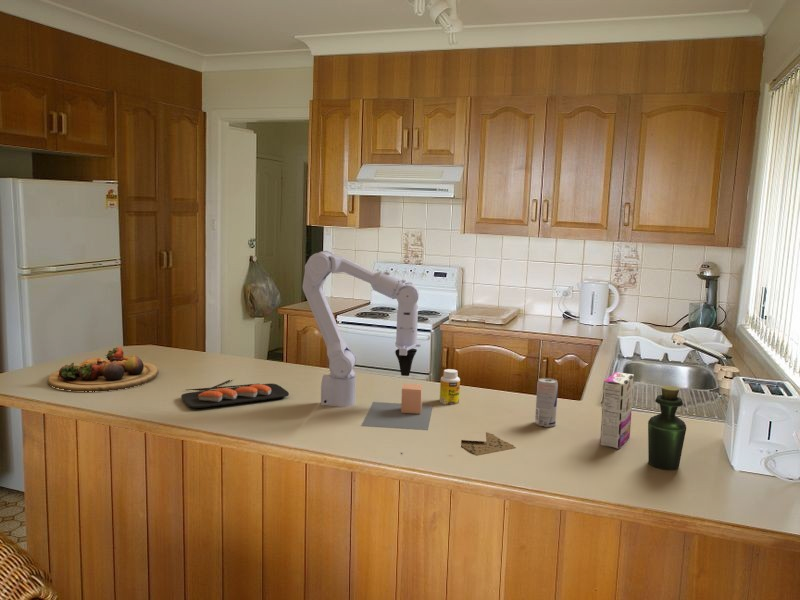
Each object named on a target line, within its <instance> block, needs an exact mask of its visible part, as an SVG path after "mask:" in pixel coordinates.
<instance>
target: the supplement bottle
mask: <svg viewBox="0 0 800 600" xmlns="http://www.w3.org/2000/svg"><path fill="white" fill-rule="evenodd" d="M460 386H461V378H460V377H459V376H458V370H456V369H451V368H447V369H446V368H445V369H444V370H443V375H442V376H441V377H440V386H439V388H440V389H439V390H440V391H439V403H440V404H442V405H446V406H447V405H449V406H452V405H453V406H454V405H455V406H456V405H457V404H459V403H460V388H461V387H460Z"/></svg>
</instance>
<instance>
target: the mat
mask: <svg viewBox="0 0 800 600" xmlns="http://www.w3.org/2000/svg"><path fill="white" fill-rule="evenodd" d="M433 407H434V405H432V404H431V405H430V404H422V409H421V413H420V414H407V413H401V403H400V402H399V403H397V402H379V401H372V403H371V406H370V407H369V409H368V412H367V414H366V415H365V418H364V420H363V422H362V423H361V425H360V426H361V427H367V428H368V427H371V428H386V429H403V430H419V431H429V427H430V426H429V425H430V421H431V416H432V412H433Z"/></svg>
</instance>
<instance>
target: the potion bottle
mask: <svg viewBox="0 0 800 600" xmlns="http://www.w3.org/2000/svg"><path fill="white" fill-rule="evenodd" d="M660 388H661V394H659V395H657V396H656V398H655V400H654V401H655V403H656V404H659V407H660V413H658V414H656V415H653V416H651V417H650V418H649V419H648V422H647V428H648V429H647V432H648V433H647V434H648V435H647V446H648V450H647V451H648V452H647V454H648V455H647V456H648V463H649V465H651V466H652V467H654V468H656V469H659V470H666V471H672V470H676V469H678V468H680V462H681V458H682V453H683V448H684V442H685V436H686V432H687V425H686V422H685V421H684V420H682V418H680V417H678V416H677V415H676V413H677V410H678V407H682V406H684V402H683V399H682V398H681V397H679V396H678V395H679V392H680V387H677V386H674V385H661V387H660Z"/></svg>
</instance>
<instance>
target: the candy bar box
mask: <svg viewBox="0 0 800 600" xmlns="http://www.w3.org/2000/svg"><path fill="white" fill-rule="evenodd" d="M634 376H635V374H632V373H627V372H620V371H615V372H614V373H612V374H611V375H610V376H609V377H607V378H606V379H605V380H603V390H602V406H601V407H602V408H601V425H600V440H599V441H600V442H599V446H601V447H606V448H611V449H617V450H619V449H621V447H622V446H623V445H624V444H625V442H626V441H627V440H628V439H629V438H630V436H631V424H632V411H633V410H632V409H633V408H632V407H633V394H634V392H633V391H634V381H635V380H634Z"/></svg>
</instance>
